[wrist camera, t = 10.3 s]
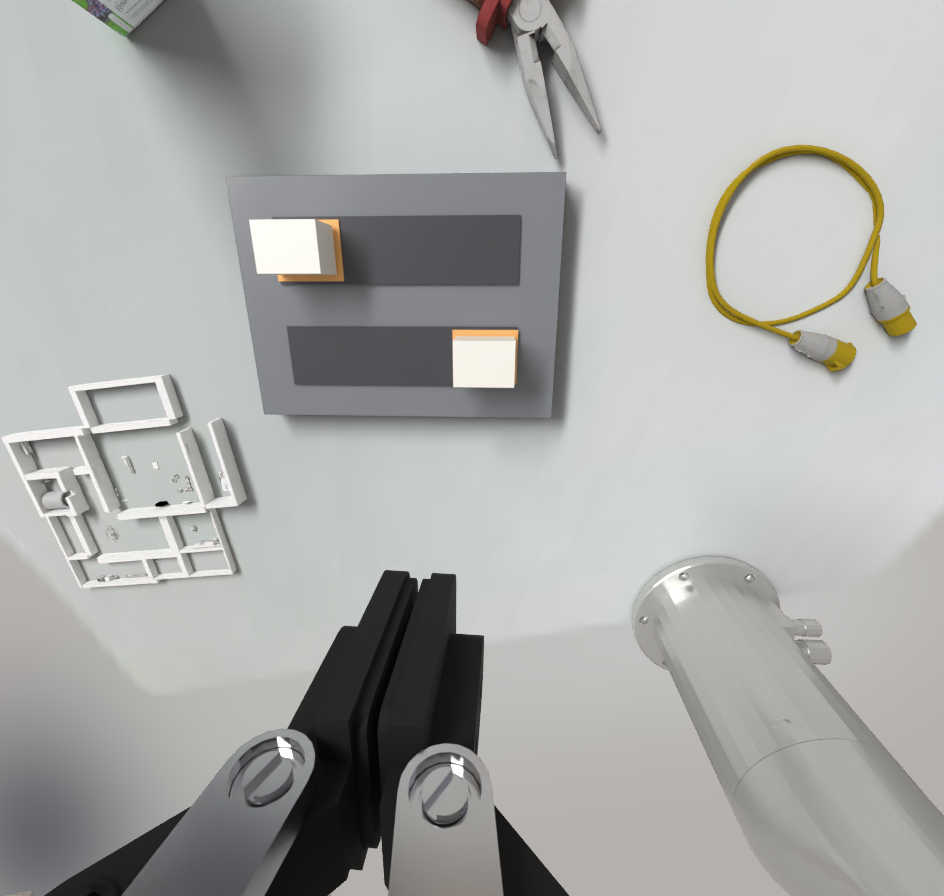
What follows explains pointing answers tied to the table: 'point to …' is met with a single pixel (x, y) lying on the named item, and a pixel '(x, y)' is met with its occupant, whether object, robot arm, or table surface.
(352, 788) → the robot arm
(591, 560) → the table surface
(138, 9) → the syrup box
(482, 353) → the tab
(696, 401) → the table surface
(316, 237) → the tab
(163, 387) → the floor plan model
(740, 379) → the table surface
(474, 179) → the switch panel
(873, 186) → the extension cord
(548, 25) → the pliers
